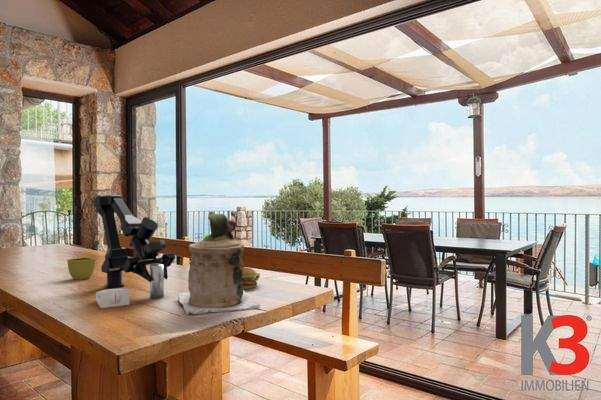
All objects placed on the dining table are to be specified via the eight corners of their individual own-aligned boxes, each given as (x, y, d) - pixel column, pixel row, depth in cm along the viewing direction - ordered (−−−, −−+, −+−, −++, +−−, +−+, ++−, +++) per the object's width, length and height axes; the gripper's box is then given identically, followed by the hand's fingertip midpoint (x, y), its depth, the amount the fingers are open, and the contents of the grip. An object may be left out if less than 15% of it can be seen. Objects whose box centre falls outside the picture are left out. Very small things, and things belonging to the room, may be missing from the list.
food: (251, 291, 163) (251, 271, 163) (220, 288, 168) (220, 269, 168) (266, 284, 176) (266, 266, 176) (237, 282, 181) (237, 264, 181)
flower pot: (96, 278, 191) (96, 258, 191) (77, 281, 184) (77, 260, 184) (85, 276, 196) (85, 257, 196) (66, 279, 188) (66, 259, 188)
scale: (93, 300, 148) (93, 286, 148) (125, 297, 154) (125, 283, 154) (98, 308, 138) (98, 293, 138) (131, 304, 143) (131, 289, 143)
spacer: (148, 296, 154) (148, 264, 154) (161, 295, 157) (161, 263, 157) (151, 299, 150) (151, 266, 150) (165, 297, 153) (165, 265, 153)
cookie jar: (185, 317, 128) (185, 213, 128) (176, 299, 151) (175, 211, 151) (262, 308, 138) (262, 212, 138) (242, 293, 161) (242, 210, 160)
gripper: (127, 235, 149) (143, 269, 142) (172, 232, 163) (189, 262, 156) (116, 255, 154) (131, 289, 147) (161, 250, 168) (177, 281, 161)
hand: (158, 280), depth 152 cm, fingers open, 6 cm apart
